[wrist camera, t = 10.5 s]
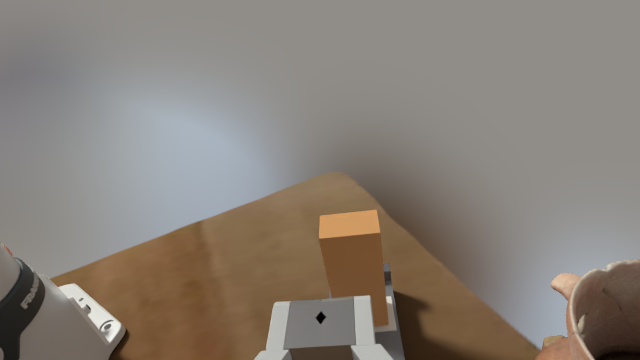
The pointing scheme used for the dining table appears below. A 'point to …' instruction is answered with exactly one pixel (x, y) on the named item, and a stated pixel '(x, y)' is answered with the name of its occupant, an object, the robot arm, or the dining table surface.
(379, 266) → the switch tab
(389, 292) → the switch track
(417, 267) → the dining table surface
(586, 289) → the ceramic jug
